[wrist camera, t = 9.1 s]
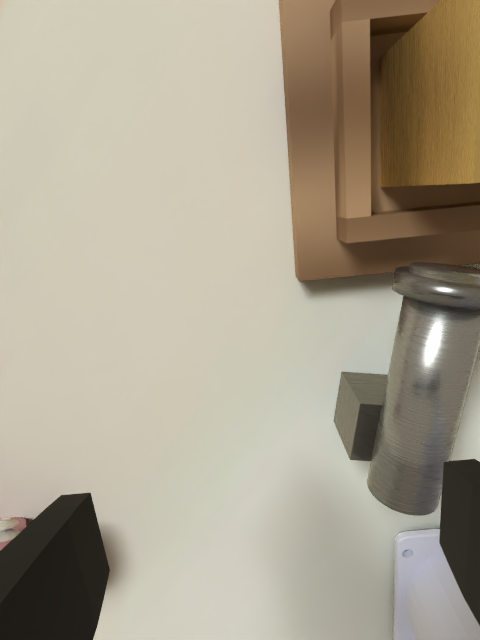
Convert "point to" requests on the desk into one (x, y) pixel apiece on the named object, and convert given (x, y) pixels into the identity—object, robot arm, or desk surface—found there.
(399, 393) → the shaft
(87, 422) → the desk surface
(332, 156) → the socket
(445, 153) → the rectangular peg
